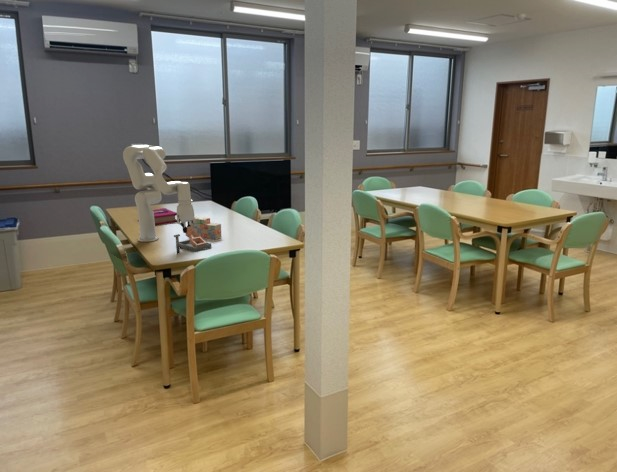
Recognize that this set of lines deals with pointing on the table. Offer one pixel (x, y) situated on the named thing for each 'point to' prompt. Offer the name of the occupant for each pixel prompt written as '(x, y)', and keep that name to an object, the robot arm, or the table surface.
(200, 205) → the table surface
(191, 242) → the orange scoop
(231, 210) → the table surface
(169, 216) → the book
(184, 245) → the tray
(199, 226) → the stack of blocks
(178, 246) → the stake
